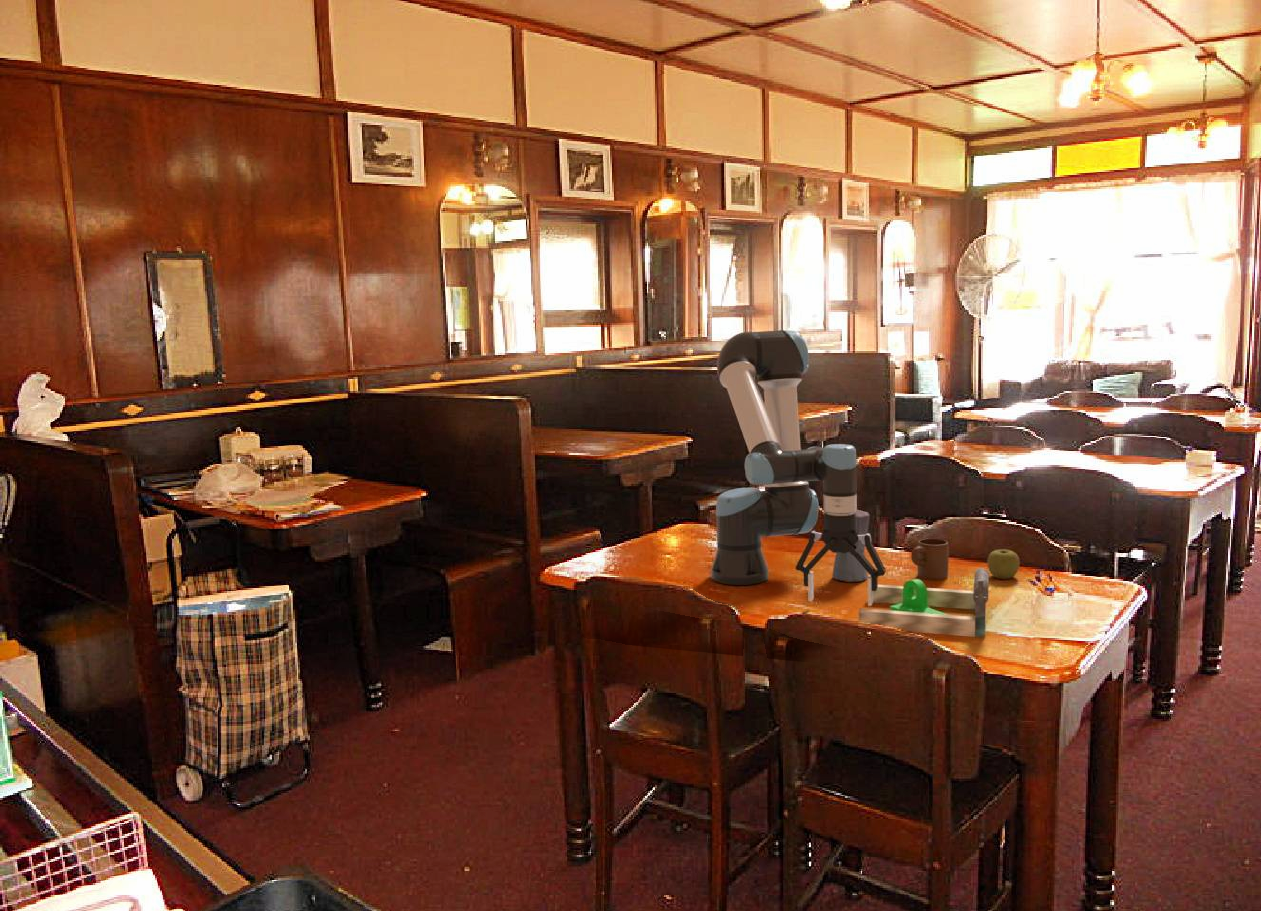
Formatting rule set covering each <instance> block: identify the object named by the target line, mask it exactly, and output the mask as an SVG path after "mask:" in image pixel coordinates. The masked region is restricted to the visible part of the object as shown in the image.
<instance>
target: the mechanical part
mask: <svg viewBox="0 0 1261 911" xmlns="http://www.w3.org/2000/svg"><path fill="white" fill-rule="evenodd" d="M904 582H905V583H904V584H903V585H902V586H903V603H901V604H893V605H890V606H889V610H891V611H903V612H916V613H929V614H942V615H949V614H948V613H944V612H942V611H939V610H936V609H933V608H931V607H930V606H928V604H927V589H926V588H927V586H926V584H925V582H923V581H922V580H921V579H920V578H919V579H918V578H914V579H909V580H907V581H904ZM914 589H915V591H916V596H915V594H914Z"/></svg>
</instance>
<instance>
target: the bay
mask: <svg viewBox="0 0 1261 911" xmlns="http://www.w3.org/2000/svg"><path fill="white" fill-rule="evenodd" d="M989 575H990V574H989V570H987V569H986V568H983V567H979V568H977V569H976V570H975V572H974V578H973V579H974V580H973V590H961V589H952V588H951V589H949V588H946V589H945V588H934V587H932V588H931V587H926V589H927V604H928V606H929V607H935V608H938V607H939V608H948V609H949V608H951V609H963V610H975V611H974V613H975V614H974V616H967V615H965V616H963V615H955V614H954V615H953V614H948V615H942V614H929V613H916V612H903V611H891V610H890V609H889V610H887V609H875V608H863V607H860V608H859V610H858V623H859V622H864V623H870V624H878V625H883V626H889V627H893V628H897V629H901V630H906V631H905V632H908V631H912V632H911V633H924V634H932V635H933V634H936V635H945V636H948V635H949V636H958V637H959V636H961V637H970V638H971V637H972V638H986V613H987V612H986V610H987V609H986V608H987V603H988V601H989V583H990V581H989V579H990V578H989V577H990V576H989ZM903 586H904V585H893V584H892V585H891V584H878V587H877V590H876V591H873V603H878V604H879V603H880V604H881V603H882V604H893V605H897V604H901V603H903ZM914 594H915V596H916V591H915V589H914Z"/></svg>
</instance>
